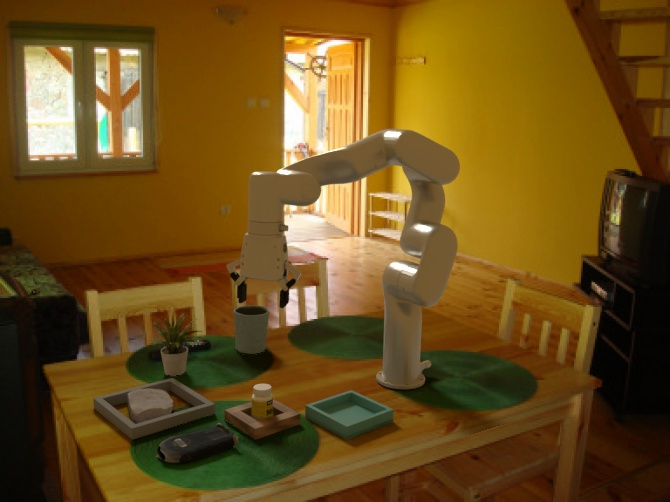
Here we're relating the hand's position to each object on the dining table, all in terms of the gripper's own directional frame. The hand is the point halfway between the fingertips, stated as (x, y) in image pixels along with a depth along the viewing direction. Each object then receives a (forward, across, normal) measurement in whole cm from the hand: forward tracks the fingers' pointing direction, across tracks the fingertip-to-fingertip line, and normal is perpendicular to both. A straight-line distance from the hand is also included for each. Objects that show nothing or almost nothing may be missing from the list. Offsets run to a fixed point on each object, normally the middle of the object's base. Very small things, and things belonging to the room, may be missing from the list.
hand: (262, 304), depth 156 cm
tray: (+25, -21, -2) cm, 33 cm away
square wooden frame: (+26, -3, +5) cm, 26 cm away
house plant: (+26, +30, -15) cm, 42 cm away
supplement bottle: (+26, -3, +5) cm, 26 cm away
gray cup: (+25, +17, -39) cm, 49 cm away
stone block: (+27, +23, +7) cm, 36 cm away
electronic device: (+27, +6, +21) cm, 34 cm away
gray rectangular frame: (+26, +23, +7) cm, 36 cm away
